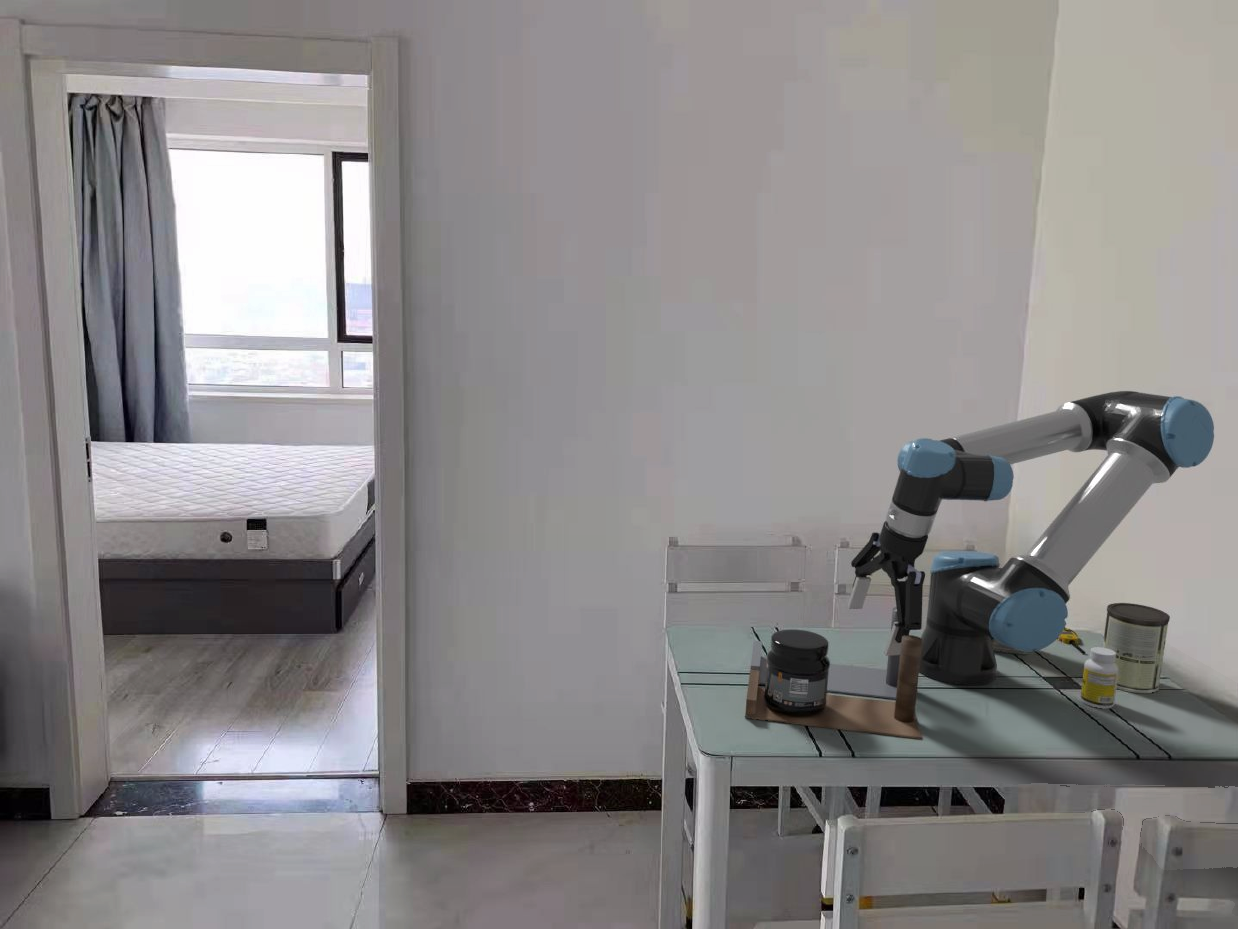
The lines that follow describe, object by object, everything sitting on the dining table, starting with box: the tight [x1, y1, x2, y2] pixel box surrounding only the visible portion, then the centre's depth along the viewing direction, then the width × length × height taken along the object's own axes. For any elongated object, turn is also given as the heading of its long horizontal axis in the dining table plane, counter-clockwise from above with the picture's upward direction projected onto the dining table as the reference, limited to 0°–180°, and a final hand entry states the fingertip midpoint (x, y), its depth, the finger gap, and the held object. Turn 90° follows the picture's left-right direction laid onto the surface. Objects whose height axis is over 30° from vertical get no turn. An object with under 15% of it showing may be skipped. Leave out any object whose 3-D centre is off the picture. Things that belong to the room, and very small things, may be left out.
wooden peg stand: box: [744, 634, 922, 740], centre depth 158 cm, size 28×13×14 cm, turn 79°
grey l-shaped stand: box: [749, 606, 905, 700], centre depth 172 cm, size 28×13×14 cm, turn 79°
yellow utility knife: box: [1057, 626, 1086, 654], centre depth 199 cm, size 5×2×15 cm
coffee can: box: [1102, 602, 1171, 694], centre depth 176 cm, size 10×10×14 cm
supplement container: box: [764, 628, 831, 717], centre depth 159 cm, size 10×10×12 cm
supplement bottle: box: [1080, 646, 1118, 710], centre depth 167 cm, size 5×5×10 cm
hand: (872, 630), depth 168 cm, fingers open, 13 cm apart
